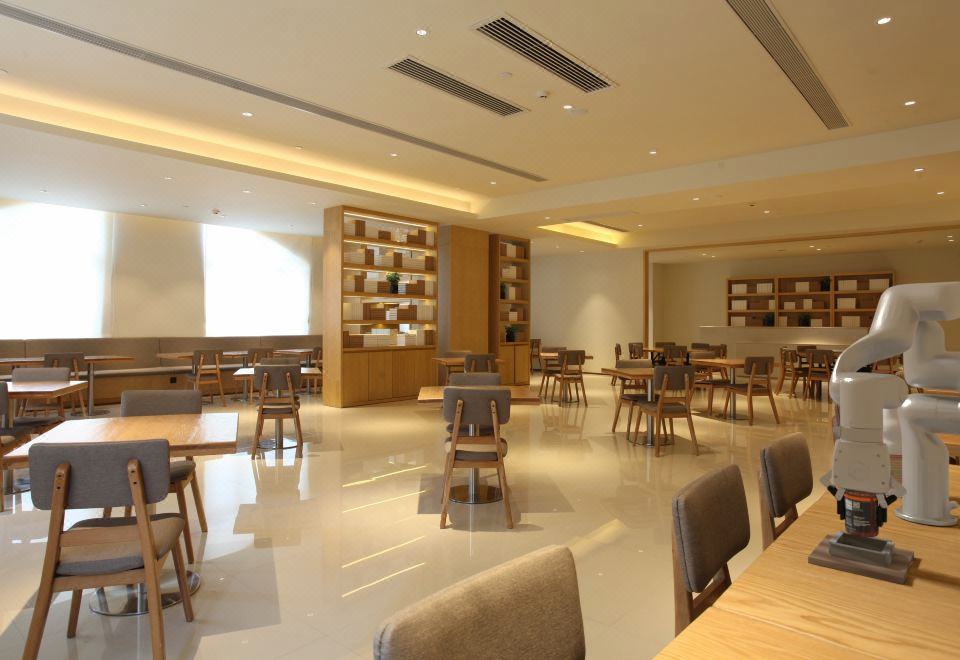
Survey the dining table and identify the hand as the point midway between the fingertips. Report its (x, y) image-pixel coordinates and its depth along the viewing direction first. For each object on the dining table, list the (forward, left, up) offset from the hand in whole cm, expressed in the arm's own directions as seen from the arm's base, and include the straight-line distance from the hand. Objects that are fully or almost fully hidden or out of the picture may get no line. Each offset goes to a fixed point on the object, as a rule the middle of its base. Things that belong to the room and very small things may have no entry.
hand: (861, 521), depth 123 cm
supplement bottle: (0, 0, -3) cm, 3 cm away
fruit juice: (-57, -34, -8) cm, 67 cm away
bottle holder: (0, 0, -8) cm, 8 cm away
